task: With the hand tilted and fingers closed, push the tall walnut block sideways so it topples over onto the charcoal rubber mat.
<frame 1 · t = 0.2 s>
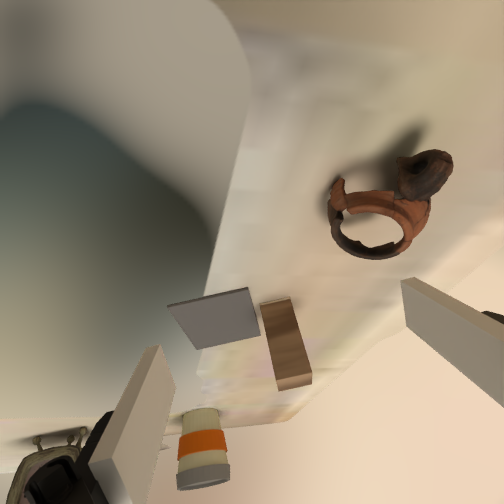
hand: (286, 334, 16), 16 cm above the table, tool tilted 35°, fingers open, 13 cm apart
rubber mat: (219, 320, 45), on the table
tabletop clock: (67, 433, 73), on the table
walnut block: (275, 308, 45), on the table
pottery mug: (375, 181, 31), on the table
reusable coffee cup: (200, 413, 79), on the table
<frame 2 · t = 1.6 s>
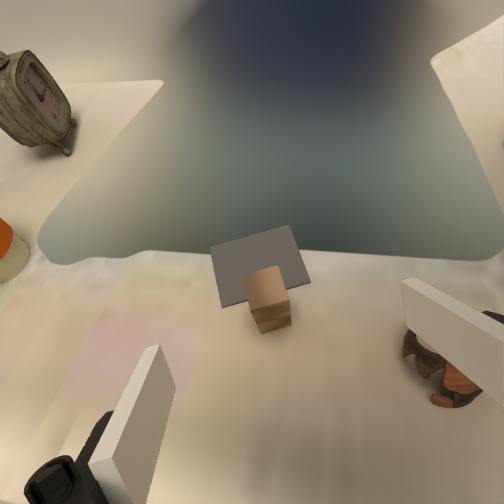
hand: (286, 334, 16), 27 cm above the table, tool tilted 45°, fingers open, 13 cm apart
rubber mat: (257, 264, 49), on the table
tabletop clock: (61, 142, 72), on the table
walnut block: (272, 315, 44), on the table
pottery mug: (446, 365, 38), on the table
reusable coffee cup: (7, 261, 56), on the table
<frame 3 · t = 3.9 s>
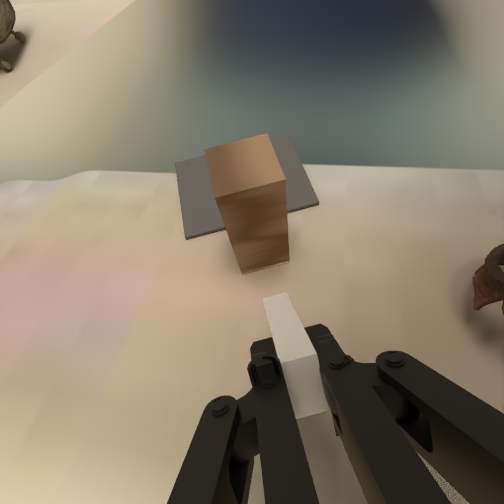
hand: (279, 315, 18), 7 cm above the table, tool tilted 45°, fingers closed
rubber mat: (241, 183, 33), on the table
tabletop clock: (4, 60, 57), on the table
walnut block: (260, 248, 29), on the table
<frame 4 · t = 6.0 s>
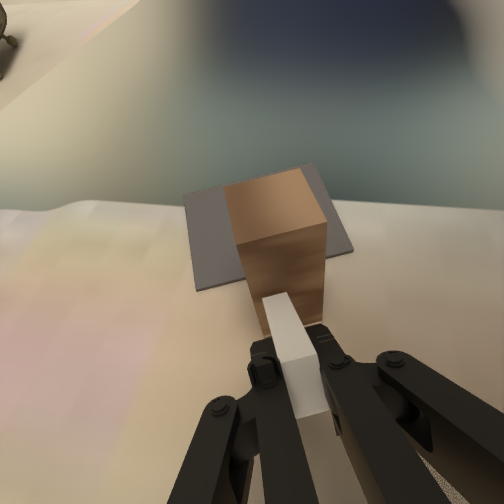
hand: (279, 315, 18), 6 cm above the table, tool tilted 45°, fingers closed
rubber mat: (260, 221, 29), on the table
walnut block: (285, 304, 24), on the table, tilted 9°
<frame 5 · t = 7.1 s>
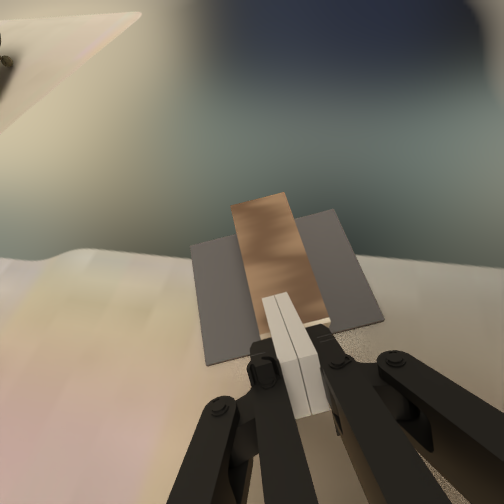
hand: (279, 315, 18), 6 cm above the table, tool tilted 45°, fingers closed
rubber mat: (277, 280, 26), on the table
walnut block: (295, 339, 21), point 3 cm above the table, tilted 90°, touching gripper, rubber mat
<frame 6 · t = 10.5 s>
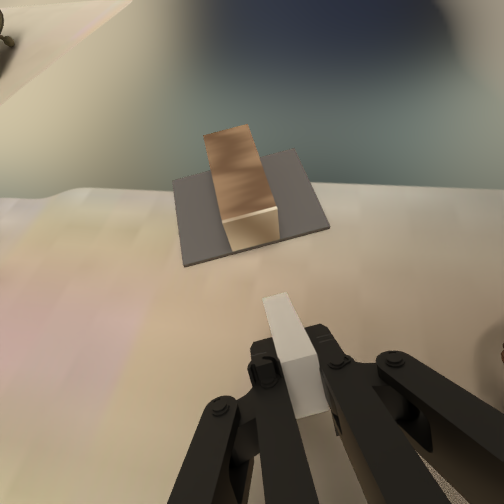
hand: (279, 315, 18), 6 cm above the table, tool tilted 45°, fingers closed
rubber mat: (244, 203, 31), on the table
walnut block: (253, 231, 26), point 3 cm above the table, tilted 90°, touching rubber mat
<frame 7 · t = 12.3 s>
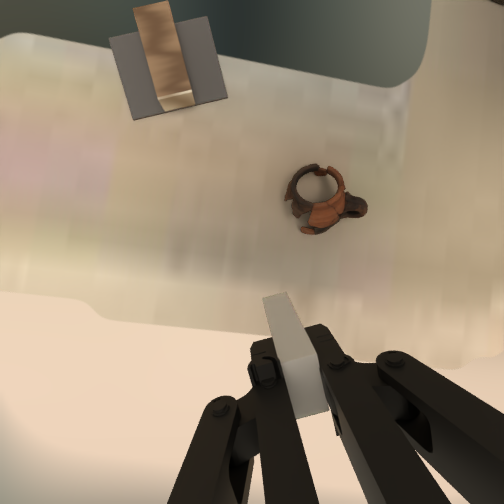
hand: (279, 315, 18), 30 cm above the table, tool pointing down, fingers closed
rubber mat: (170, 69, 43), on the table
walnut block: (177, 102, 41), point 3 cm above the table, tilted 90°, touching rubber mat
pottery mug: (318, 203, 48), on the table
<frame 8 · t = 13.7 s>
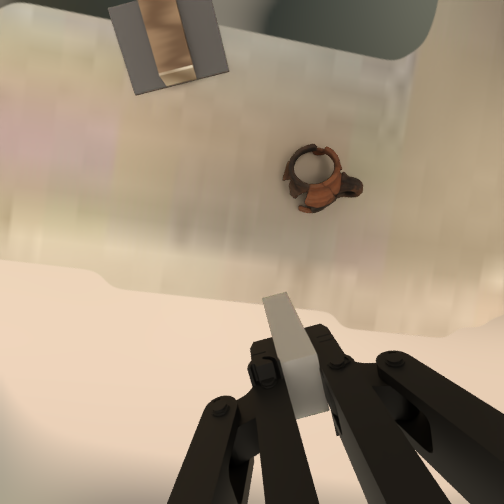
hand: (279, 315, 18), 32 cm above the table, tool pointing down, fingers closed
rubber mat: (170, 41, 42), on the table
walnut block: (179, 77, 41), point 3 cm above the table, tilted 90°, touching rubber mat
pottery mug: (315, 182, 49), on the table
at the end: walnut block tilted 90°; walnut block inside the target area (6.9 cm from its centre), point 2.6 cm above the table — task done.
